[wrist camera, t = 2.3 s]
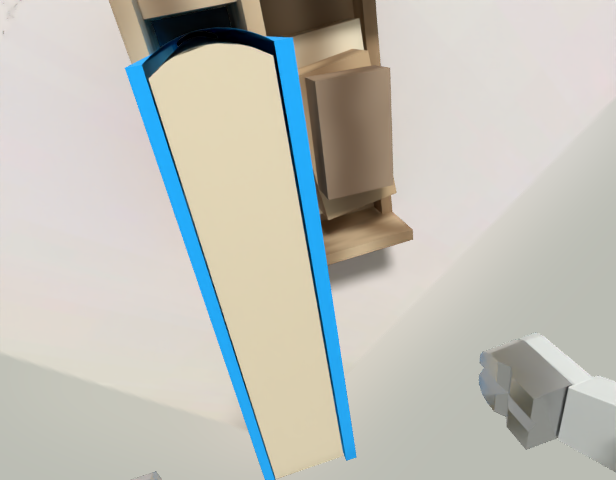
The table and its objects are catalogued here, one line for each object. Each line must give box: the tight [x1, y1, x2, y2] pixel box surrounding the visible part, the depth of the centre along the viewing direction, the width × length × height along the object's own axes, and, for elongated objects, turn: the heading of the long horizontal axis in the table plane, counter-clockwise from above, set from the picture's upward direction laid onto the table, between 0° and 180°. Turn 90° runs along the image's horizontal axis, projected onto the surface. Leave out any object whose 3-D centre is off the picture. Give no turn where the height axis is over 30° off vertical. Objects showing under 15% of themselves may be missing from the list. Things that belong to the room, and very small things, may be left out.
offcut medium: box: [298, 49, 396, 220], centre depth 32 cm, size 6×11×3 cm, turn 17°
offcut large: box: [282, 18, 364, 214], centre depth 34 cm, size 7×14×3 cm, turn 13°
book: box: [125, 28, 356, 480], centre depth 24 cm, size 17×4×25 cm, turn 9°
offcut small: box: [305, 65, 393, 200], centre depth 29 cm, size 5×8×2 cm, turn 8°
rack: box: [109, 0, 413, 265], centre depth 31 cm, size 17×21×11 cm
